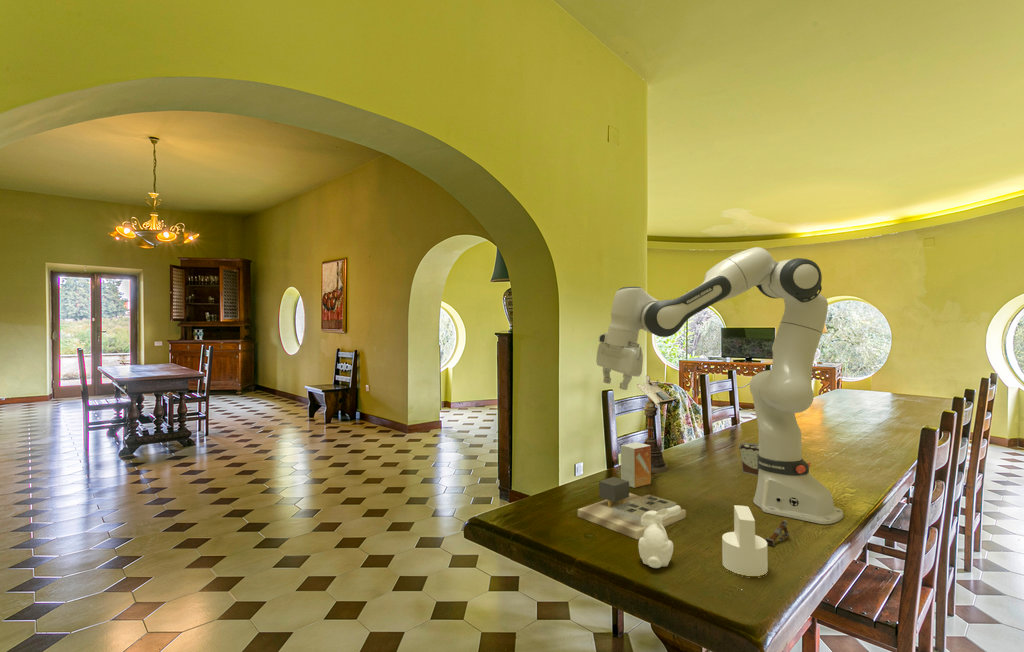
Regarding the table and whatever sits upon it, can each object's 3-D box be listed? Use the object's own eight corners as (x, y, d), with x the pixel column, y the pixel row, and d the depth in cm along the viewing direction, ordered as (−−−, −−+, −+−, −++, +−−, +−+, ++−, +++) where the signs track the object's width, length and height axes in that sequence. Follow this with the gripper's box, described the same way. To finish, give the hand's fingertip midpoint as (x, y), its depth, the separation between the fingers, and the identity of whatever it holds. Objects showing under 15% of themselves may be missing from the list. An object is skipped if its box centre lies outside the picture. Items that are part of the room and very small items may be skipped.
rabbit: (639, 547, 120) (639, 497, 120) (680, 552, 118) (680, 501, 118) (637, 571, 109) (636, 515, 109) (682, 577, 106) (682, 520, 106)
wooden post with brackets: (793, 534, 125) (789, 519, 124) (777, 556, 121) (772, 540, 119) (786, 532, 126) (781, 516, 125) (769, 553, 122) (764, 537, 121)
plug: (634, 502, 145) (634, 479, 145) (614, 509, 140) (614, 486, 140) (618, 497, 150) (618, 475, 150) (599, 503, 144) (599, 481, 144)
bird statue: (688, 471, 182) (687, 374, 182) (665, 477, 174) (664, 377, 174) (651, 461, 195) (650, 371, 195) (628, 467, 188) (627, 373, 188)
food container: (781, 476, 175) (781, 447, 175) (772, 479, 171) (772, 450, 171) (748, 468, 185) (747, 441, 185) (738, 471, 182) (738, 443, 182)
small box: (634, 488, 164) (634, 448, 163) (620, 483, 169) (620, 444, 169) (651, 484, 168) (651, 445, 168) (637, 479, 173) (636, 441, 173)
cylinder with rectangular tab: (720, 555, 116) (719, 503, 116) (763, 560, 113) (762, 507, 113) (724, 574, 107) (724, 518, 107) (771, 580, 104) (771, 522, 104)
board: (685, 517, 139) (685, 510, 139) (637, 539, 125) (637, 531, 125) (626, 498, 154) (626, 492, 154) (577, 516, 140) (577, 509, 140)
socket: (676, 511, 137) (676, 502, 137) (641, 527, 127) (640, 517, 127) (648, 503, 144) (648, 494, 144) (612, 516, 134) (612, 507, 134)
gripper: (651, 345, 140) (643, 394, 140) (613, 338, 159) (606, 380, 160) (632, 343, 138) (624, 392, 138) (596, 335, 157) (589, 379, 158)
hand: (614, 386), depth 149 cm, fingers open, 8 cm apart
